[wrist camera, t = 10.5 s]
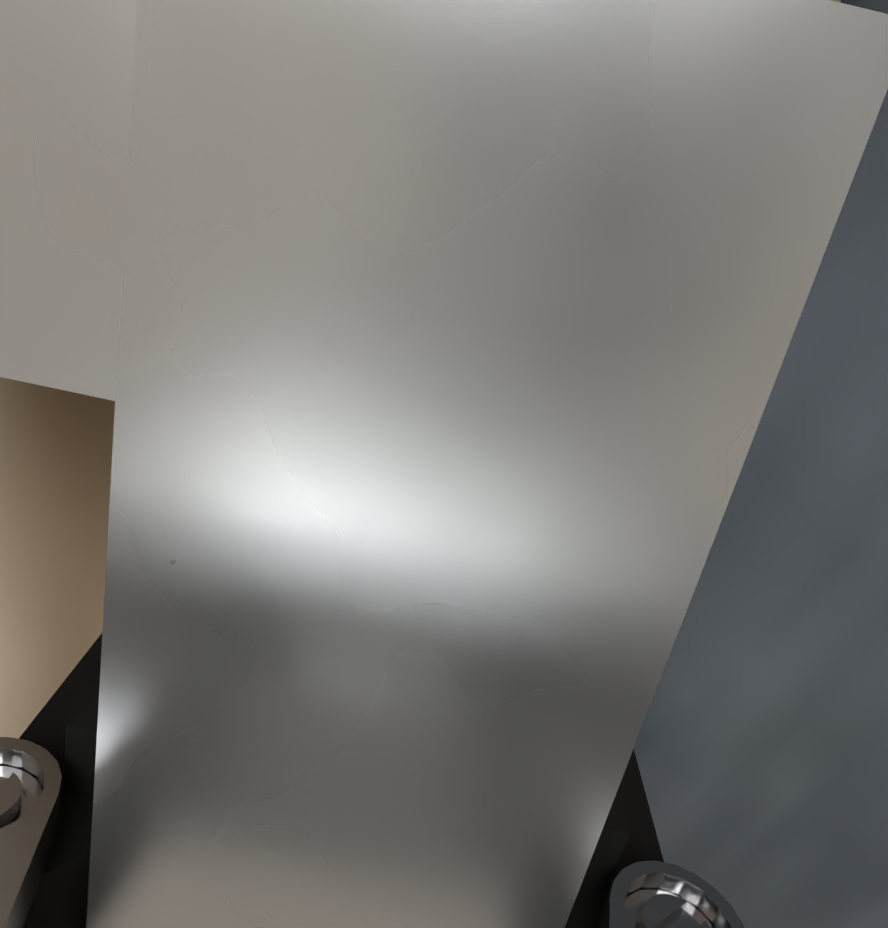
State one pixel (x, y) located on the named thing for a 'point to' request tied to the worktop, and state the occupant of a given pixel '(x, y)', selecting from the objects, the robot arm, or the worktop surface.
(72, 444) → the wooden tray
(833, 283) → the worktop surface
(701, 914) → the robot arm
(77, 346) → the aluminium bracket
